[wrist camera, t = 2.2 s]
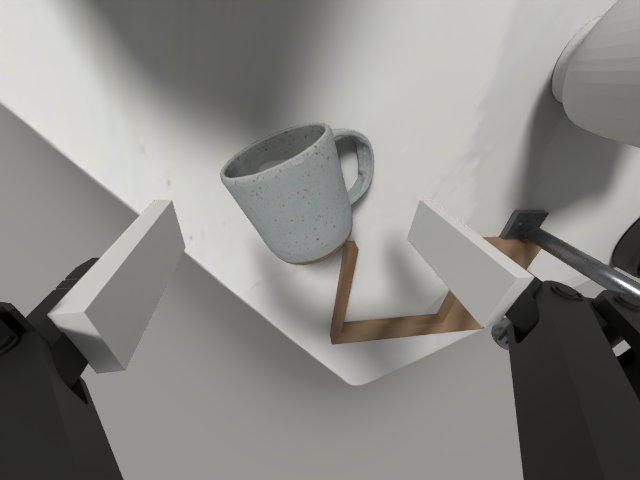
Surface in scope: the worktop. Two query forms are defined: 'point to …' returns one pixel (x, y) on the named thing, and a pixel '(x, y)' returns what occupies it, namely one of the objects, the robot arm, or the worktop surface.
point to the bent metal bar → (527, 227)
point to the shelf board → (446, 320)
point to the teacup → (604, 75)
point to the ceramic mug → (299, 190)
